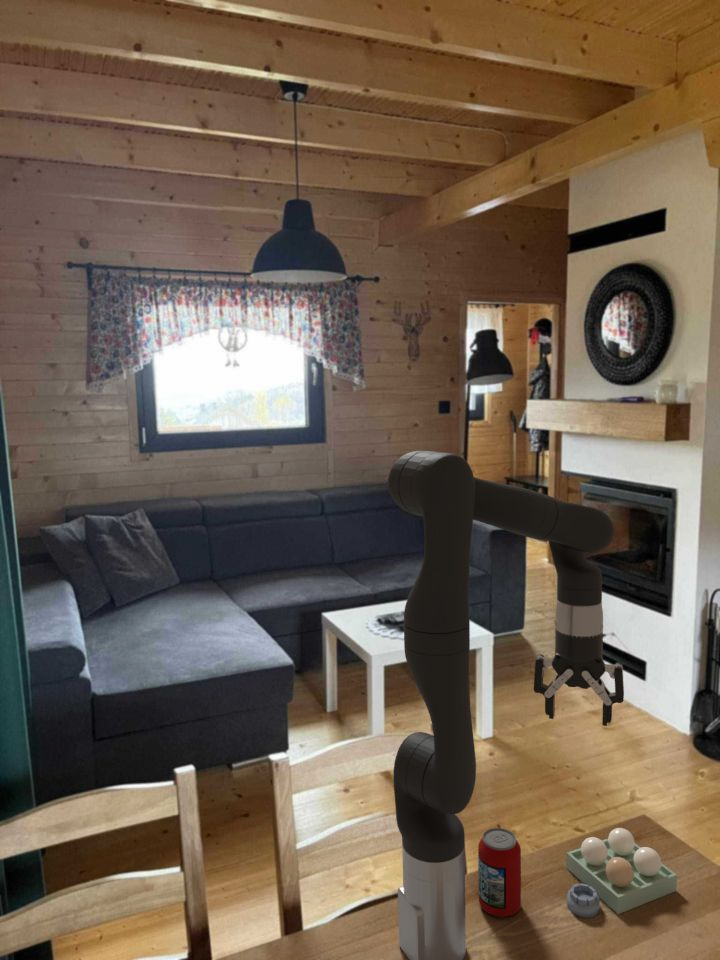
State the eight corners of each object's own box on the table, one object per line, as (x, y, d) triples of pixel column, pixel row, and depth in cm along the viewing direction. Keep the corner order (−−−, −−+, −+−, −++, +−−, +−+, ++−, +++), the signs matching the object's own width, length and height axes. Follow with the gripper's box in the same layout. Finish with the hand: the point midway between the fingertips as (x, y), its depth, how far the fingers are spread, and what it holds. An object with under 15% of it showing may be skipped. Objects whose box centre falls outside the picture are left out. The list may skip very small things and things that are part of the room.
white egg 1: (592, 874, 124) (593, 850, 123) (575, 859, 128) (575, 835, 127) (613, 866, 125) (613, 843, 125) (595, 852, 129) (595, 829, 129)
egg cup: (581, 921, 116) (581, 906, 115) (560, 901, 120) (560, 887, 120) (606, 911, 118) (606, 896, 117) (585, 892, 122) (585, 878, 122)
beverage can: (470, 899, 121) (469, 832, 120) (504, 887, 124) (504, 820, 123) (494, 926, 115) (494, 855, 114) (529, 912, 118) (529, 843, 117)
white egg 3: (646, 885, 121) (647, 860, 120) (627, 869, 125) (627, 845, 124) (667, 877, 122) (667, 853, 122) (647, 862, 126) (647, 838, 126)
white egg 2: (620, 864, 126) (620, 840, 126) (602, 849, 130) (602, 826, 130) (640, 857, 128) (640, 833, 127) (621, 842, 132) (622, 820, 131)
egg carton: (617, 914, 117) (618, 897, 117) (566, 868, 129) (566, 852, 128) (676, 890, 122) (676, 874, 122) (621, 848, 133) (622, 833, 133)
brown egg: (618, 896, 118) (619, 872, 118) (599, 880, 122) (599, 856, 122) (639, 888, 120) (640, 863, 119) (620, 872, 124) (620, 848, 123)
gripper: (625, 623, 122) (623, 716, 124) (537, 616, 127) (537, 705, 129) (624, 638, 115) (622, 737, 117) (531, 630, 120) (531, 724, 122)
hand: (577, 720), depth 123 cm, fingers open, 8 cm apart
